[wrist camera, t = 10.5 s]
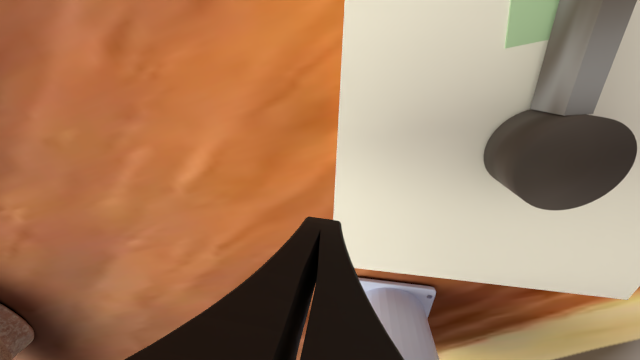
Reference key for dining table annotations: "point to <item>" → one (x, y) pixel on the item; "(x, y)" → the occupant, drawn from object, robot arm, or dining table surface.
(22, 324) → the ceramic pot
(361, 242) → the dial plate
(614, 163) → the grey lever with knob
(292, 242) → the robot arm
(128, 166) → the dining table surface
